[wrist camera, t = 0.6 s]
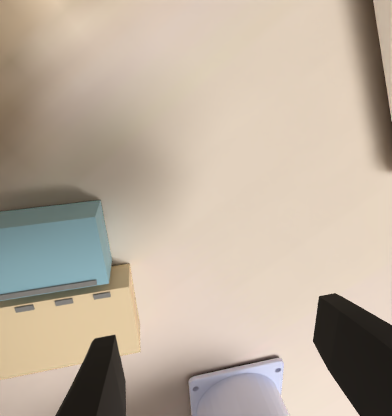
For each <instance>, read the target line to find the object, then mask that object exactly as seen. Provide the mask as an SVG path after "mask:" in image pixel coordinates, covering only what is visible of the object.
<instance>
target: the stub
mask: <svg viewBox="0 0 392 416" xmlns="http://www.w3.org/2000/svg"><path fill="white" fill-rule="evenodd" d="M111 264H112V257H111V252H110V247H109V242H108V237H107V232H106V227H105V221H104V216H103V211H102V206H101V201H100V200H96V201H88V202H79V203H71V204H62V205H53V206H45V207H36V208H27V209H19V210H10V211H2V212H0V301H4V300H10V299H16V298H22V297H28V296H35V295H41V294H47V293H53V292H60V291H66V290H72V289H78V288H85V287H91V286H97V285H103V284H109V280H110V272H111Z"/></svg>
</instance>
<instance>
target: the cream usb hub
mask: <svg viewBox="0 0 392 416" xmlns="http://www.w3.org/2000/svg"><path fill="white" fill-rule="evenodd" d="M110 335H116V340H117V344H118V349H119V354H120V356H123V355H128V354H133V353H138V352H140V323H139V317H138V311H137V305H136V299H135V293H134V287H133V281H132V275H131V269H130V264H124V265H117V266H111V272H110V280H109V284H103V285H97V286H91V287H85V288H78V289H72V290H66V291H60V292H53V293H47V294H41V295H35V296H28V297H22V298H16V299H10V300H4V301H0V380H3V379H8V378H13V377H18V376H23V375H28V374H33V373H38V372H43V371H48V370H53V369H58V368H63V367H68V366H73V365H78V364H82V363H83V361H84V359H85V356H86V354H87V352H88V350H89V347H90V345H91V342H92V341H93V340H94V339H95V338H99V337H105V336H110Z"/></svg>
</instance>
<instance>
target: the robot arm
mask: <svg viewBox="0 0 392 416" xmlns="http://www.w3.org/2000/svg"><path fill="white" fill-rule="evenodd" d="M313 342H314V344H315V346H316V348H317V350H318V352H319V354H320V356H321V357H322V359H323V361H324V363H325V365H326V366H327V368H328V370H329V372H330V373H331V375H332V376H333V378H334V379H335V381H336V382H337V383H338V385H339V386H340V388H341V389H342V391H343V392H344V394H345V395H346V397H347V398H348V399H349V401H350V402H351V404H352V405H353V407H354V408H355V409H356V411H357V412H358V414H359V415H360V416H392V325H390V324H389V323H387V322H385V321H383V320H382V319H380V318H378V317H376V316H375V315H373V314H371V313H370V312H368V311H366V310H364V309H363V308H361V307H359V306H357V305H356V304H354V303H352V302H350V301H349V300H347V299H345V298H343V297H341V296H339V295H338V294H336V293H334V294H329V295H324V296H319V301H318V308H317V316H316V323H315V330H314V338H313ZM283 368H284V363H283V361H282V359H281V358H274V359H270V360H265V361H261V362H256V363H252V364H247V365H242V366H238V367H233V368H229V369H224V370H220V371H215V372H210V373H206V374H201V375H197V376H193V377H191V378H190V379H189V381H188V383H189V394H190V405H191V416H290V414H289V412H288V410H287V408H286V406H285V404H284V402H283V399H282V397H281V391H282V380H283ZM56 416H126V391H125V377H124V372H123V368H122V363H121V358H120V354H119V349H118V344H117V340H116V335H110V336H105V337H99V338H95V339H94V340H93V341H92V342H91V345H90V347H89V350H88V352H87V354H86V356H85V359H84V361H83V363H82V365H81V367H80V369H79V371H78V373H77V375H76V377H75V380H74V382H73V384H72V386H71V387H70V389H69V391H68V393H67V395H66V397H65V399H64V401H63V403H62V405H61V406H60V408H59V410H58V412H57V414H56Z"/></svg>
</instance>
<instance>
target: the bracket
mask: <svg viewBox="0 0 392 416" xmlns="http://www.w3.org/2000/svg"><path fill="white" fill-rule="evenodd" d="M373 2H374V9H375V16H376V22H377V29H378V35H379V42H380V48H381V55H382V61H383V68H384V74H385V81H386V87H387V94H388V100H389V107H390V113H391V120H392V0H373Z"/></svg>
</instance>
